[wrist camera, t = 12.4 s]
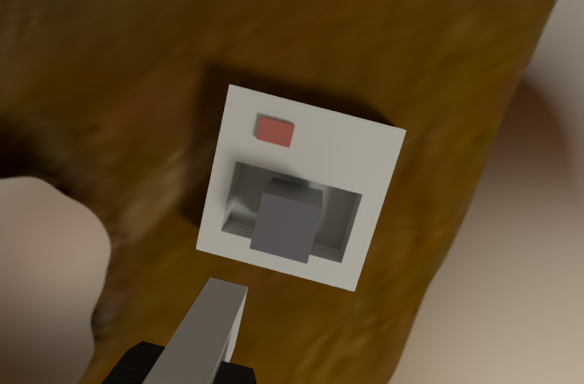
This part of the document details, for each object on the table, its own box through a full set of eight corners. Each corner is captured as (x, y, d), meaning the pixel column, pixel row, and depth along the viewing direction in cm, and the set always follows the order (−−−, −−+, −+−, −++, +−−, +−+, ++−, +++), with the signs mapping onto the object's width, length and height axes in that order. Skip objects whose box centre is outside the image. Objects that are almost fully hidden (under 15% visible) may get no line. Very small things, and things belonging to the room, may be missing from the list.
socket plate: (239, 86, 37) (227, 83, 32) (397, 127, 37) (408, 130, 32) (207, 235, 41) (193, 251, 36) (351, 273, 40) (354, 294, 36)
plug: (274, 174, 38) (262, 192, 30) (322, 187, 38) (322, 208, 30) (263, 220, 39) (249, 248, 31) (309, 232, 39) (306, 263, 31)
